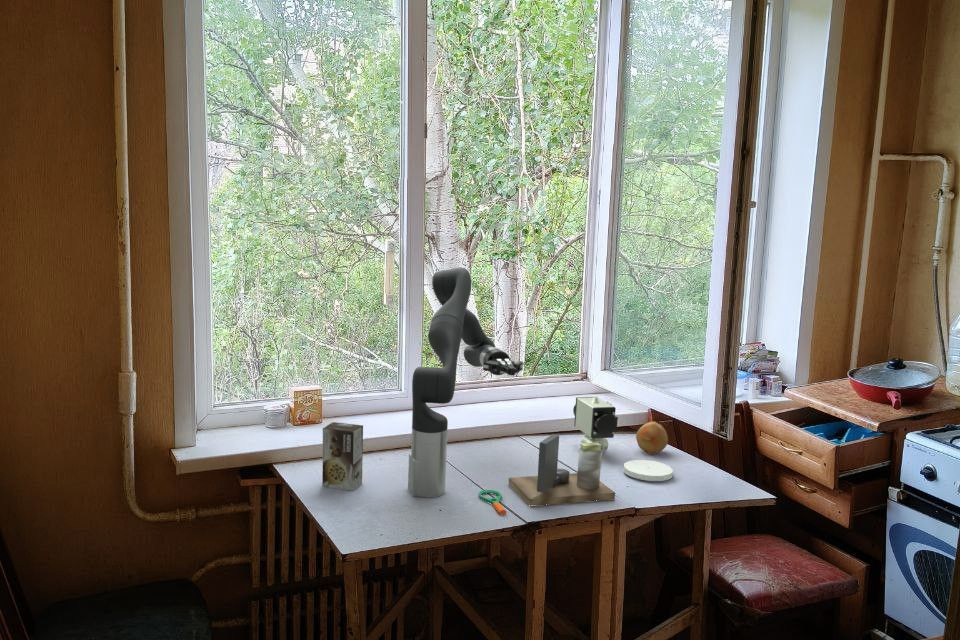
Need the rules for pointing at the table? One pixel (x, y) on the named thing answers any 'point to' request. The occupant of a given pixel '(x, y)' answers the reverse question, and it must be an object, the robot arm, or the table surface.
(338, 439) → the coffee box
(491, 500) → the magnifying glass
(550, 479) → the grey panel with handle
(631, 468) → the plastic lid
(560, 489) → the base
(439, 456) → the robot arm
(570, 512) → the table surface
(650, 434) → the onion
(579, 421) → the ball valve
